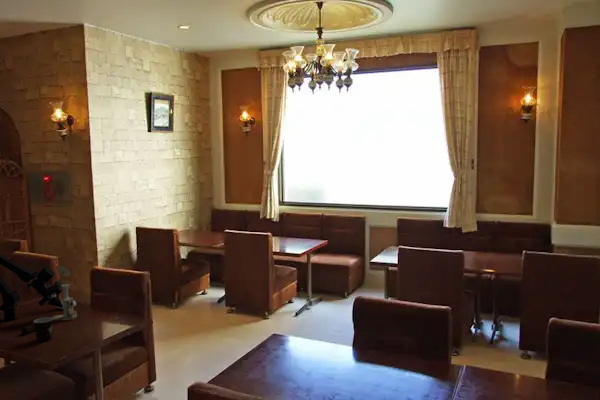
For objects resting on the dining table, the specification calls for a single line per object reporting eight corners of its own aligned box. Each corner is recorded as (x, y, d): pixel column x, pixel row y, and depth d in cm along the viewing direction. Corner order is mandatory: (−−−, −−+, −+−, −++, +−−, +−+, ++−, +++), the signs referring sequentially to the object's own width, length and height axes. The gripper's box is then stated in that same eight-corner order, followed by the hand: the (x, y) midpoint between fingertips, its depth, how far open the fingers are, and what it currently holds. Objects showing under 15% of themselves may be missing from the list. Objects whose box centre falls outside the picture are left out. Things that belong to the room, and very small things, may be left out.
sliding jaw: (62, 317, 278) (61, 300, 277) (66, 314, 284) (66, 297, 283) (66, 317, 278) (65, 300, 277) (71, 314, 284) (70, 297, 283)
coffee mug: (40, 344, 243) (39, 324, 242) (30, 340, 247) (29, 321, 246) (63, 336, 252) (62, 317, 252) (53, 333, 257) (52, 314, 256)
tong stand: (50, 320, 278) (49, 301, 277) (55, 316, 284) (54, 297, 283) (72, 319, 278) (71, 300, 278) (76, 316, 284) (76, 297, 284)
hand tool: (26, 335, 255) (26, 326, 254) (20, 334, 256) (20, 325, 256) (55, 324, 273) (55, 315, 272) (49, 323, 274) (49, 315, 274)
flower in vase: (80, 306, 303) (79, 266, 301) (63, 311, 294) (61, 269, 291) (67, 303, 310) (66, 263, 308) (50, 308, 301) (48, 267, 298)
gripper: (43, 282, 270) (65, 302, 271) (58, 274, 288) (78, 292, 290) (29, 296, 270) (51, 316, 271) (45, 287, 289) (65, 306, 290)
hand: (62, 307), depth 281 cm, fingers closed
